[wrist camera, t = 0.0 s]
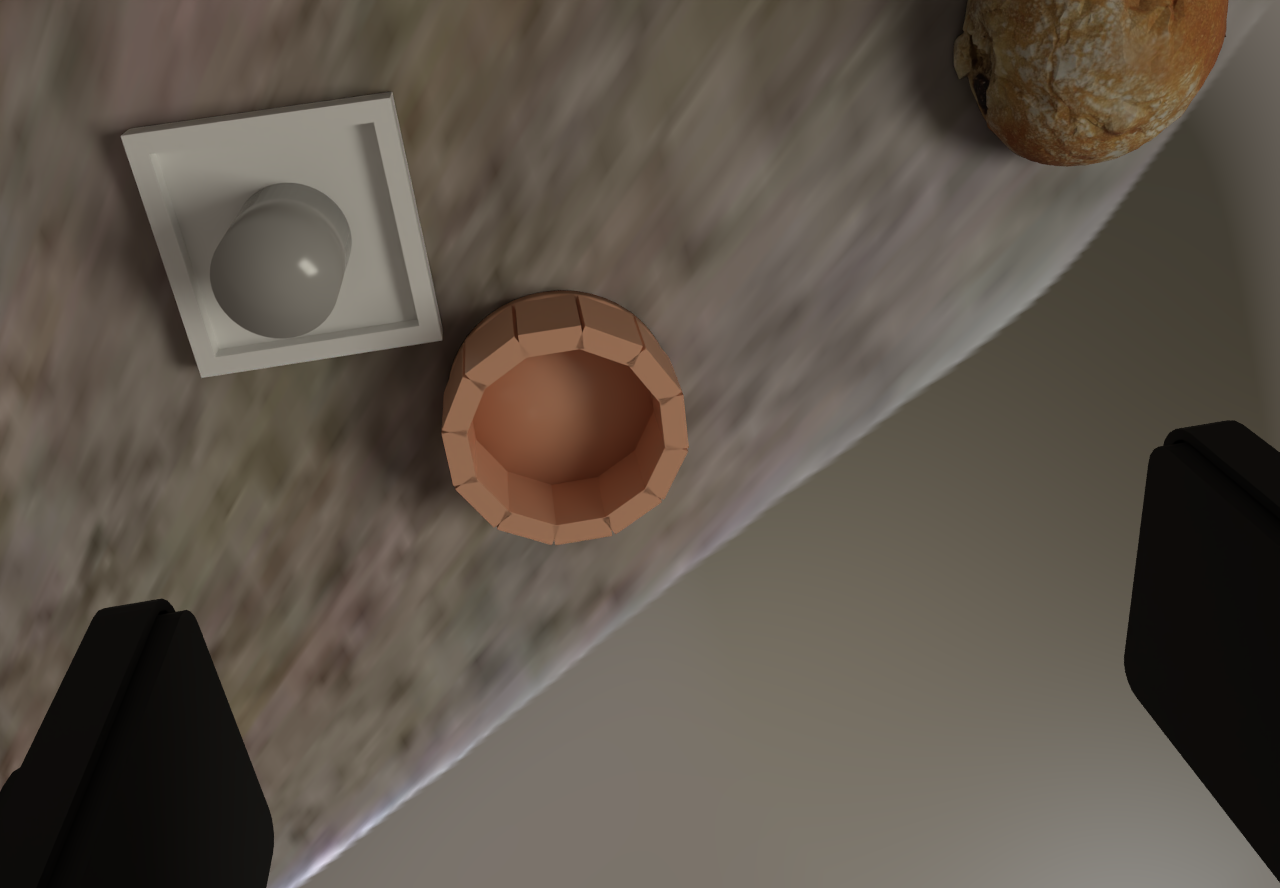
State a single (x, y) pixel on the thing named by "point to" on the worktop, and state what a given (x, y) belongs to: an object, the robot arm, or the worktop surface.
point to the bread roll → (1086, 71)
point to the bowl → (563, 418)
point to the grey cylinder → (282, 261)
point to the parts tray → (305, 154)
